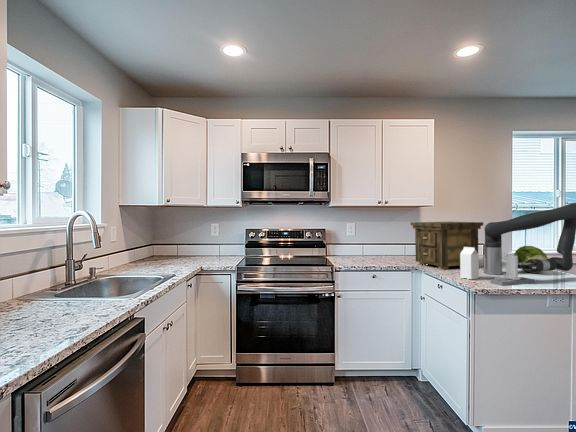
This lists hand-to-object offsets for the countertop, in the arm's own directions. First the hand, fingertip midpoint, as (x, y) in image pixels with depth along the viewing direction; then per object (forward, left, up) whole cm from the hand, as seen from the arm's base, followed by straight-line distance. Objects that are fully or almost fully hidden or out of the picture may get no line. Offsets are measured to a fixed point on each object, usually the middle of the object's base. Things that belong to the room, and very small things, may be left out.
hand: (513, 266), depth 191 cm
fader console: (0, 0, -9) cm, 9 cm away
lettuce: (-8, +45, -9) cm, 47 cm away
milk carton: (-21, -6, -9) cm, 24 cm away
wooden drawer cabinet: (-58, +28, -9) cm, 65 cm away
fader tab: (0, -1, -7) cm, 7 cm away
